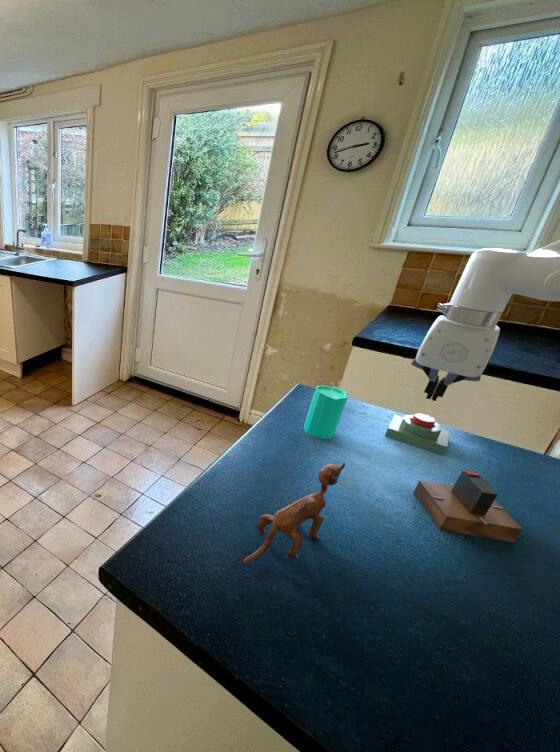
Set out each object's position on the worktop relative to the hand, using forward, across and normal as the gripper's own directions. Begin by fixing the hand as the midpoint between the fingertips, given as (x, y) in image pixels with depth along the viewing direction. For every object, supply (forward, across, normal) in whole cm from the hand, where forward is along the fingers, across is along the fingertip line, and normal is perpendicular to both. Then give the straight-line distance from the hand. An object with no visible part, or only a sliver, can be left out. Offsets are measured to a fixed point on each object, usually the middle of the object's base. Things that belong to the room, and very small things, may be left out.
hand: (431, 397), depth 88 cm
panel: (+10, +9, -24) cm, 27 cm away
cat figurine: (+11, -11, -52) cm, 54 cm away
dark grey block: (+7, +9, -24) cm, 26 cm away
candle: (+11, -16, -12) cm, 22 cm away
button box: (+10, 0, 0) cm, 10 cm away
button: (+7, 0, 0) cm, 7 cm away
